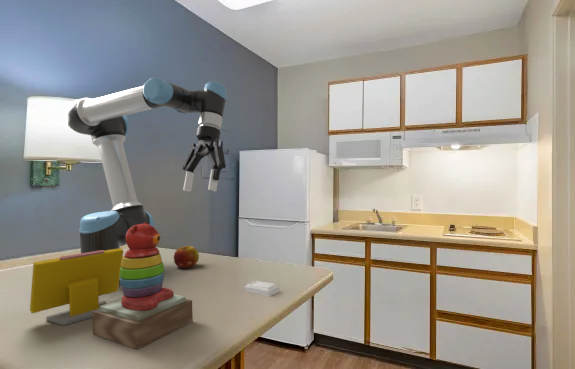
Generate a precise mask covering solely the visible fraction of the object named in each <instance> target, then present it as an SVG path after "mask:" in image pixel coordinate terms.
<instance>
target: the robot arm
mask: <svg viewBox="0 0 575 369" xmlns="http://www.w3.org/2000/svg"><path fill="white" fill-rule="evenodd" d="M227 91H228V90H227V88H226V87H225V86H224V85H223V84H222V83H220V82H216V81H208V82H206V83H205V84H204V88H203V89H201V90H191V89H190V90H189V89H187V88H184V87H182V86H179V85H177V84H175V83H172V82H170V81H168V80H167V79H163V78H159V77H150V78H149V79H148V80H146V81H145V82H144V84H143V85H141V86H138V87H134V88H130V89H126V90H122V91H118V92H115V93H111V94H107V95H104V96H100V97H95V98H89V97H83V98H79V99H75V100H73V101H72V102H70V103H69V104H67V106H66V107H65V109H64V114H63V117H64V121H65V124H67V126H68V127H69V128H70V129H72V130H73V131H74V132H76V133H78V134H82V135H87V136H90V138H91V142H92V144H93V145H94V146H96V147H97V148H98V151H99V155H100V159H101V164H102V168H103V172H104V176H105V179H106V182H107V188H108V192H109V196H110V200H111V204H112V208H111V210H104V211H98V212H92V213H90V214H86V215H84V216H82V218H81V219H80V222H79V239H80V240H79V242H80V254H81V253H87V252H93V251H99V250H104V251H105V250H112V249H118V248H121V247H123V246H128V245H127V243H126V233H127V231H128V230H129V229H130V228H131V227H132V226H134V225H138V224H143V223H148V224H149V225H151V226H153V227H154V228H155V222H154V217H153V216H152V214H151V213H149V211H146V210H144V205H143V203H141V202H139V201H138V199H137V194H136V191H135V186H134V183H133V179H132V174H131V171H130V167H129V162H128V159H127V155H126V154H127V153H126V152H125V147H124V142H125V141H126V139H127V138H126V136H127V135H128V132H129V131H128V130H129V129H130V124H129V120H128V117H127V116H128V115H133V114H136V113H140V112H145V111H149V110H154V109H159V108H163V107H166V108H170V109H172V111H173V112H175V113H177V114H196V113H197V114H198V113H199V118H198V122H197V125H198V127H197V130H196V138H197V139H198V143H194V142H192V144H191V147H190V151H189V152H188V155H187V157H186V159H185V161H184V164H182V165H183V166H182V170H184V171H185V175H184V181H183V182H184V183H183V189H182V191H184V192H190V193H191V192H192V188H193V182H194V178H195V177H194V176H195V170H196V168H197V167H198V165H199V163H200V162H201V161H202V159H203V158H205V157H208V158H209V161H210V164H211V169H210V174H209V179H208V187H207V190H208V191H212V192H217V189H218V185H219V184H218V183H219V180H220V174H221V171H222V170H223V169H226V165H227V164H226V160H225V154H224V149H223V147H224V146H223V145H224V144H223V143H224V142H223V141H222V140H220V137H221V129H222V123H223V118H224V111H225V106H226V101H227ZM119 284H120V279H119Z"/></svg>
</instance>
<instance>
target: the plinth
mask: <svg viewBox="0 0 575 369" xmlns="http://www.w3.org/2000/svg"><path fill="white" fill-rule="evenodd" d="M121 300H122V298H119V299H117V300H113V301H111V302H107V304H104V305H101V306H99V309H98V310H95V311H92V318H91V319H92V322H91V323H92V335H94V336H97V335H98V337H100V336H101V337H100V338H103V337H105V338H107V339H106V340H108V339H110V340H109V341H111V340H113V341H112V342H114V341H116V342H115V343H117V342H119V343H118V344H120V343H121V345H123V344H124V346H126V345H127V346H126V347H129V348H132V349H136V350H139V349H141V348H143V347H144V346H147V345H149V344H151V343H153V342H154V341H157V340H159V339H161V338H162V337H165V336H167V335H169V334H171V333H172V332H174V331H177V330H178V329H181V328H182V327H184V326H186V325H188V324H191V323H192V322H193V319H194V318H193V313H194V312H193V300H191V299H188V298H187V297H186V296H183V295H178V294H174V296H173V297H171V298H169V299H166V300H163V301H161V302H159V303H158V306H157V307H155V308H153V309H150V310H132V309H128V308H125V307H123V306H122V305H121ZM105 338H104V339H105Z"/></svg>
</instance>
